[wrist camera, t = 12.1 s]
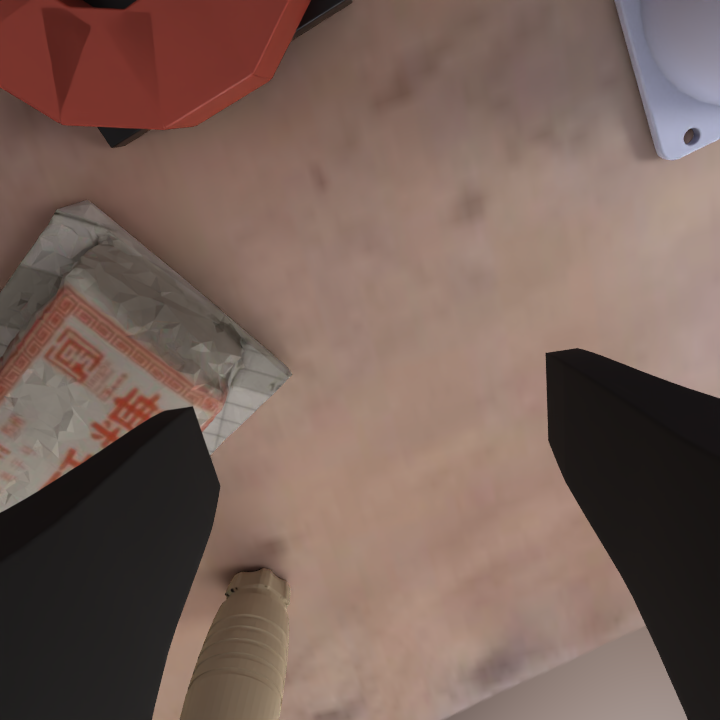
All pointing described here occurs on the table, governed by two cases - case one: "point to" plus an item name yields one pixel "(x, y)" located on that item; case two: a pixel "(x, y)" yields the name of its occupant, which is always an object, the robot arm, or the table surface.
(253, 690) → the handle
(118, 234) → the packaged product
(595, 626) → the table surface
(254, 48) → the ring
